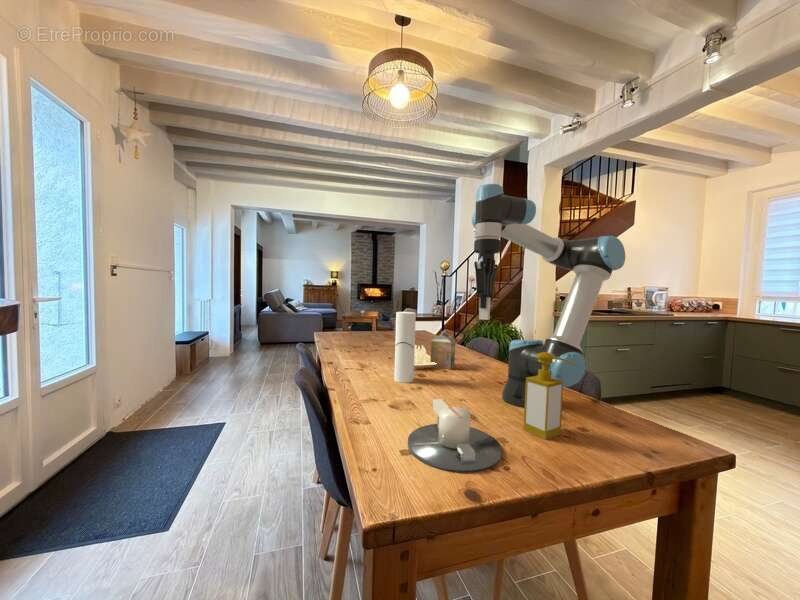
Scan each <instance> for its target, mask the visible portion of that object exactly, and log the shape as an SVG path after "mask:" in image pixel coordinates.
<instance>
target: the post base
mask: <svg viewBox="0 0 800 600" xmlns="http://www.w3.org/2000/svg"><path fill="white" fill-rule="evenodd" d="M438 424H439V416H437V419H436V423H431V424H428V425H423V426H421V427H417V428H416V429H414V430H413V431H411V433H410V434H409V435H408V438H407V447H408V450H409V452H410V453H411V455H412V456H413V457H414V458H415V459H416V460H418V461H420V462H421V463H422V464H423V463H424V464H425V465H426V466H427V465H428V466H430V467H433V468H436V469H439V470H442V471H449V472H453V473H476V472H482V471H486V470H488V469H491V468H493V467H494V466H496V465H497V464H498V463H500V461H501V459H502V455H503V453H502V452H503V450H502V447H501V444H500V442H499V441H498V440H497V439H496V438H495V437H493V436H492V435H490V434H489V433H487V432H485V431H483V430H481V429H478V428H476V427H472V426H470V441H469V443H468V444H457V448H458V449H454V448H449V447H446V446H443V445H442V444H440V442H439V440H438V438H439V428H438ZM458 450H459V451H460V453H461V455H460V453H459V452H458Z"/></svg>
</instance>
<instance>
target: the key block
mask: <svg viewBox="0 0 800 600" xmlns="http://www.w3.org/2000/svg"><path fill="white" fill-rule="evenodd" d="M432 410H433V411H434V412H435V413H436V414H437V415H438V417H439V424H438V428H439V438H438V440H439V442H440V444H442V445H443V446H446V447H449V448H454V449H458V448H457V444H468V443H469V441H470V427H471V412H470V411H469V410H468V409H465V408H462V407H458V406H449V405H448V404H447V403H446V402H445V401H444V400H443V399H441V398H437V399H436V398H433V401H432ZM458 452H459V453H460V451H459V450H458ZM460 455H461V453H460Z"/></svg>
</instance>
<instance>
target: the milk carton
mask: <svg viewBox="0 0 800 600" xmlns="http://www.w3.org/2000/svg"><path fill="white" fill-rule="evenodd" d="M429 361H430V362H435V363H437V364H436V365H433V366H432V367H434V368H433V369H437V368H439V369H438V370H445V369H448V371H451V370H452V369H453V368H454V367H455V366H454V365H455V361H456V338H455V337H454V336H452V335H451V334H449V332H447V329H445V330H442V331H441V333H440V334H439V335H438V336H435V337H434V338H432V339H431V341H430V360H429ZM430 362H429V363H430ZM453 366H454V367H453ZM452 367H453V368H452Z"/></svg>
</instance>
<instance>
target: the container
mask: <svg viewBox="0 0 800 600" xmlns="http://www.w3.org/2000/svg"><path fill="white" fill-rule="evenodd" d="M395 313H396V314H395V341H394V342H395V343H394V349H395V350H394V371H393V372H394V375H393V377H394V378H393V380H394V382H397V383H401V384H405V383H406V384H408V383H412V382H414V379H415V378H414V372H415V346H416V342H415V341H416V321H417V320H416V316H417V314H416V312H413V311H396V312H395Z"/></svg>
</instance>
